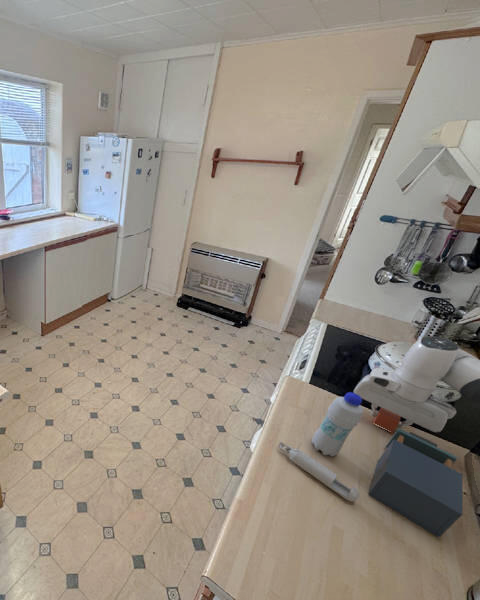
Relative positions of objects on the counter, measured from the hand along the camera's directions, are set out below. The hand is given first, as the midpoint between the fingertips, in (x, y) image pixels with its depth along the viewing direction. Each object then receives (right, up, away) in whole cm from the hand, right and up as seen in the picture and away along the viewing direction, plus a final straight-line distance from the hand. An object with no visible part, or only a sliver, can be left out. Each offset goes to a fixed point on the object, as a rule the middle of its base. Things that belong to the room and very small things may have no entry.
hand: (385, 421), depth 99 cm
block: (0, -1, +1) cm, 2 cm away
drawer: (-6, -7, -14) cm, 17 cm away
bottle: (-26, -4, -9) cm, 28 cm away
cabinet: (-14, -11, -20) cm, 27 cm away
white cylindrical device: (-35, -7, -17) cm, 39 cm away
